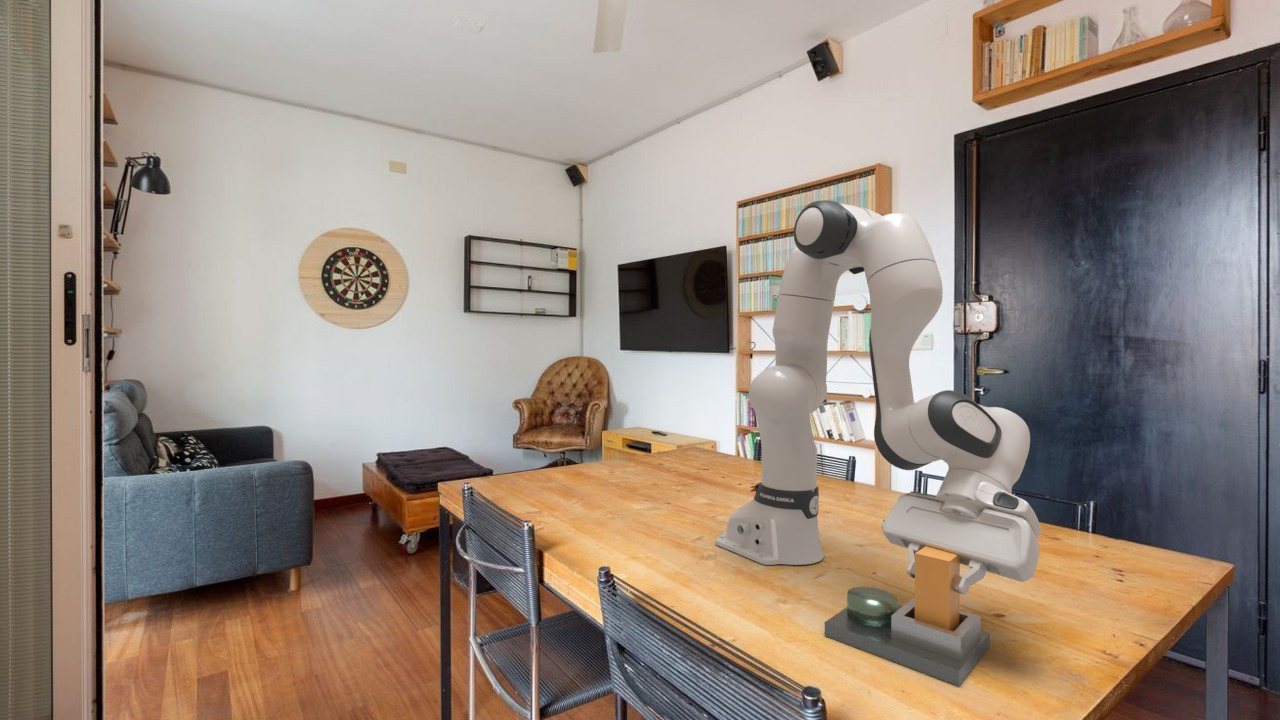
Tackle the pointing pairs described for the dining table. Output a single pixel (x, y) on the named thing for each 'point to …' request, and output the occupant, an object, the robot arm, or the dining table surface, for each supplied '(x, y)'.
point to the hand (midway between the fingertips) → (934, 583)
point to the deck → (908, 635)
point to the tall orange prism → (936, 587)
